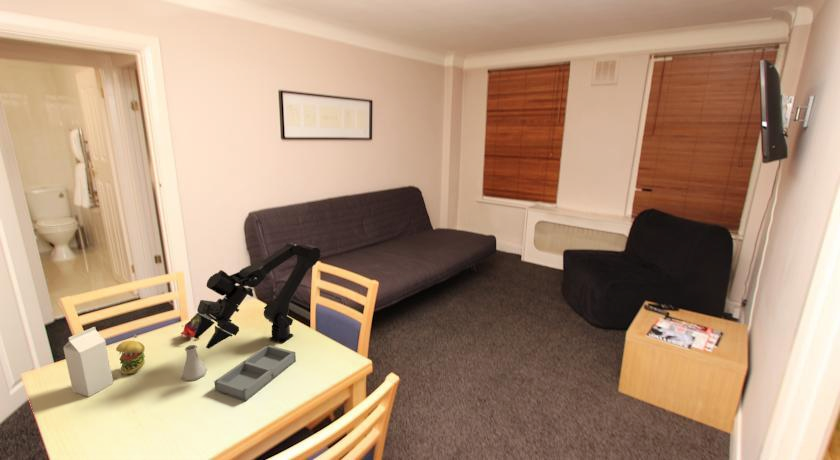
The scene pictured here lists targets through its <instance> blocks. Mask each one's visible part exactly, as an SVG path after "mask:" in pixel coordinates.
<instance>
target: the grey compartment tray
mask: <svg viewBox="0 0 840 460" xmlns="http://www.w3.org/2000/svg"><path fill="white" fill-rule="evenodd" d="M296 361H297V360H296V351H293V350H288V349H285V348H281V347H278V346H274V345H272V344H271V345H270V344H266V345H265V346H264V347H262V348H261V349H259V350H258V351H256V352H255V353H254V354H252V355H250V356H249V357H247V358H246V359H245V360H243V361H242V362H240V363H238V364H237V365H236V366H235V367H233V368H231V369H230V370H229V371H226V373H224V374H223V375H221V376H220V377H218V378H217V379H216V380H214V381H213V383H214V390H215V392H217V393H219V394H223V395H226V396H229V397H231V398H234V399H237V400H241V401H243V402H246V403H247V401H248V400H249V399H251V398H252V397H253V396H254V395H257V393H258V392H260V391H261V390H262V389H263V388H265V387H266V386H267V385H269V384H270V383H271V382H272V381H273V380H274V379H276V378H277V377H278V376H279V375H281V374H282V373H283V372H284V371H285V370H287V369H288V368H289V367H290V366H292V365H293V364H294V363H296Z"/></svg>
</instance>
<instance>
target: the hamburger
mask: <svg viewBox="0 0 840 460" xmlns="http://www.w3.org/2000/svg"><path fill="white" fill-rule="evenodd" d="M136 338H138V335H136V334H135V333H134V336H133V339H136ZM115 351H116V352H119V355H121V356H120V357H119V361H120V362H119V363H120V364H121V366H120V372H121V373H122V374H124V375H132V374H134V373H137V372H138V371H140V369H142V368H143V366H144V365H145V357H146V356H145V345H144V344H143V343H142V342H140V341H137V340H126V341H123V342H121V343H119V344H118V345H117V346H116V349H115Z"/></svg>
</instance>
